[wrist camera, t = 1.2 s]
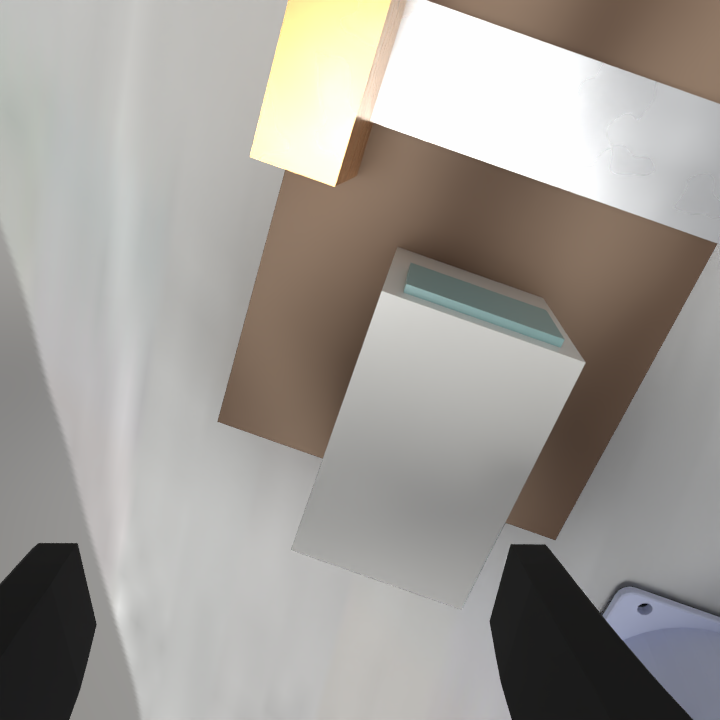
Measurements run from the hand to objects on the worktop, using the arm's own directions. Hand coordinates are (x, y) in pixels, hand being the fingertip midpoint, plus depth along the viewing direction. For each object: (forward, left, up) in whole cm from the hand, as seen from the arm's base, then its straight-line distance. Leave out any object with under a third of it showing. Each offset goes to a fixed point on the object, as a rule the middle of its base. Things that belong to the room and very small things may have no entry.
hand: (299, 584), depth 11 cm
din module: (-2, -1, -10) cm, 10 cm away
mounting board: (-2, -5, -11) cm, 12 cm away
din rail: (-2, -9, -10) cm, 13 cm away
